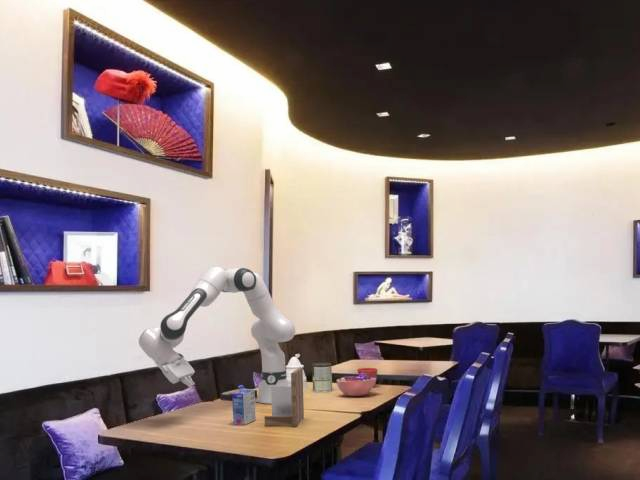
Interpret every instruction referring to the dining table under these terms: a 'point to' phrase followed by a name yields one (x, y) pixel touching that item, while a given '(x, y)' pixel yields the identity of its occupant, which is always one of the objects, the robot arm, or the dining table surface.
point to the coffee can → (322, 377)
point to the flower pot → (369, 372)
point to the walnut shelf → (296, 403)
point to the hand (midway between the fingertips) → (192, 386)
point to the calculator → (228, 395)
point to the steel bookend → (281, 401)
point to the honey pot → (293, 366)
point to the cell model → (356, 384)
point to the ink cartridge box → (243, 406)
